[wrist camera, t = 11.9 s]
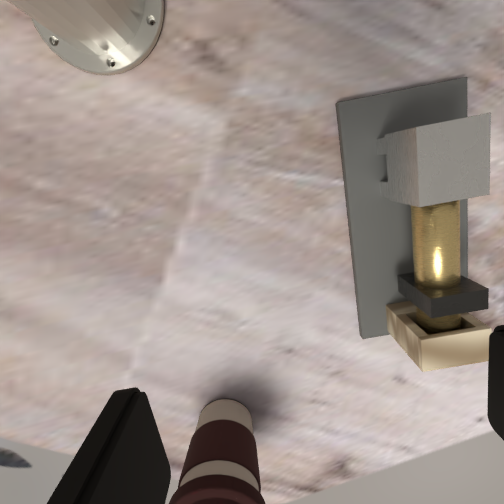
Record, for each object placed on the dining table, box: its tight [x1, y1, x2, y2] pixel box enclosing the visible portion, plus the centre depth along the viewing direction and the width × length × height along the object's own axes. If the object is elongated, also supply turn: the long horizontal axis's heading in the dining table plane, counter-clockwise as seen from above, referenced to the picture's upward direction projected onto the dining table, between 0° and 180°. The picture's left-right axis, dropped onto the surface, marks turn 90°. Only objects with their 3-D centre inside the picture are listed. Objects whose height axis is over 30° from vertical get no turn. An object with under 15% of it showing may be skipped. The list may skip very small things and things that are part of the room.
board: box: [336, 77, 468, 339], centre depth 35 cm, size 28×13×1 cm, turn 11°
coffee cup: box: [169, 399, 265, 504], centre depth 36 cm, size 10×10×15 cm
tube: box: [397, 200, 488, 335], centre depth 31 cm, size 18×5×6 cm, turn 11°
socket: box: [386, 301, 491, 372], centre depth 34 cm, size 4×7×8 cm, turn 101°
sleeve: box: [377, 113, 491, 207], centre depth 29 cm, size 6×6×8 cm
